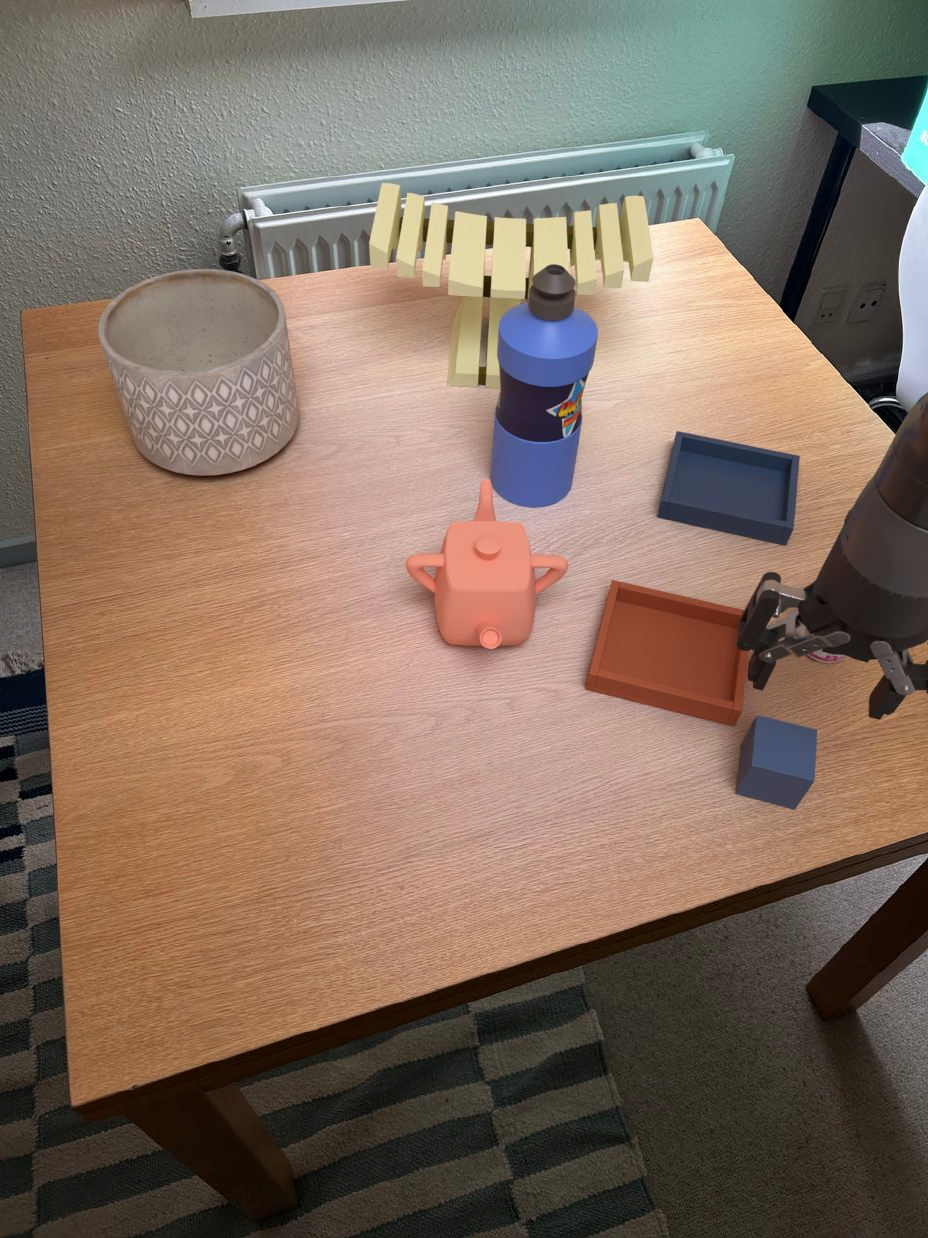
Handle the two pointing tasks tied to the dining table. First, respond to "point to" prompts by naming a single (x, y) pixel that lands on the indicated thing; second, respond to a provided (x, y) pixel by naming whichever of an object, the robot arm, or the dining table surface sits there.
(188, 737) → the dining table surface
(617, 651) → the terracotta tray
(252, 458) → the planter
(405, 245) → the slatted curved stool
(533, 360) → the water bottle
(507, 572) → the teapot
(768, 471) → the blue tray
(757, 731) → the blue block
